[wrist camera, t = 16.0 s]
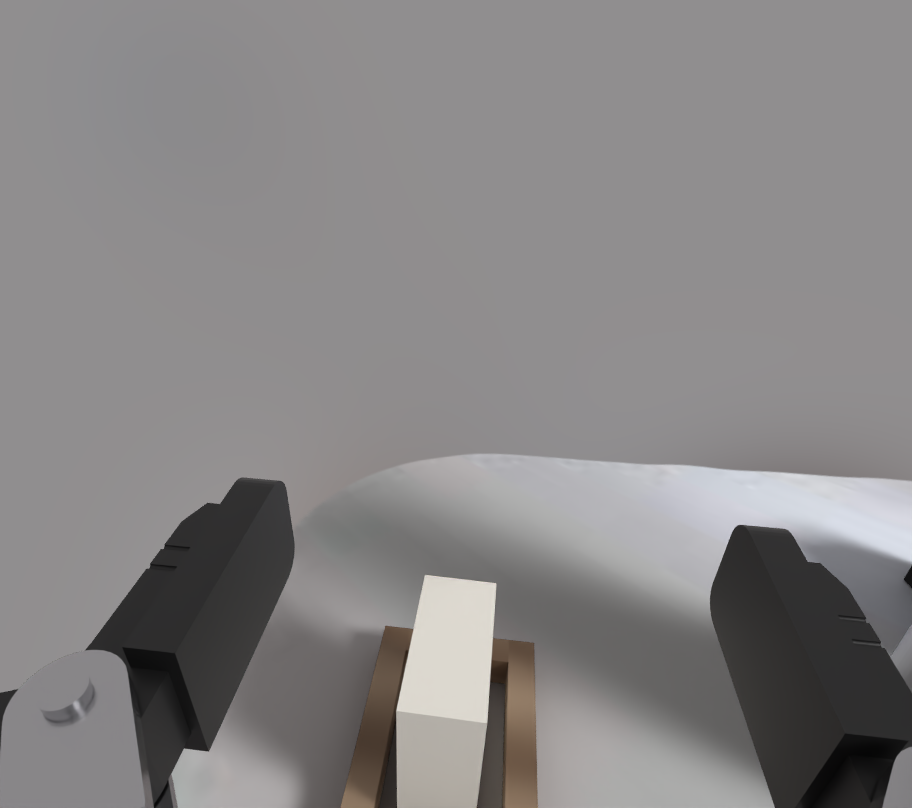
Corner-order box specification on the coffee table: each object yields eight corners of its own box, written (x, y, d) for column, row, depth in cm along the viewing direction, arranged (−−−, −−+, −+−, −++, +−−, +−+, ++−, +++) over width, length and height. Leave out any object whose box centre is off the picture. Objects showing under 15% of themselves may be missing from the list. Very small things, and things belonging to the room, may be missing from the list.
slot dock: (385, 647, 36) (385, 625, 35) (530, 664, 35) (533, 642, 34) (324, 907, 25) (320, 886, 24) (534, 938, 24) (540, 917, 23)
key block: (482, 708, 33) (496, 583, 28) (471, 850, 27) (487, 723, 22) (421, 699, 33) (424, 574, 28) (397, 839, 27) (396, 710, 22)
